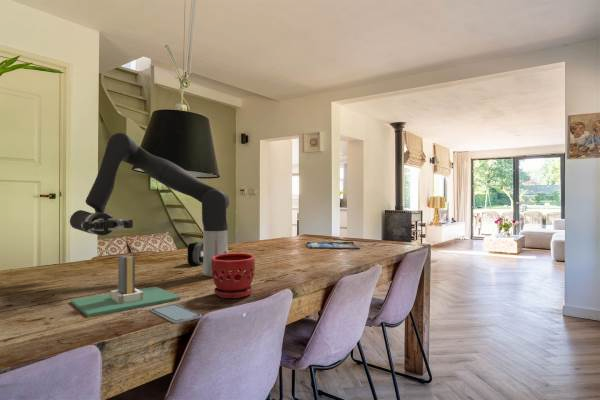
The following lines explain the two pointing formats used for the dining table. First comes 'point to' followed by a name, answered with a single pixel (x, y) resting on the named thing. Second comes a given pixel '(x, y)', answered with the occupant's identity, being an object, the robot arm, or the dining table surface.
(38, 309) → the dining table surface
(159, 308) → the smartphone
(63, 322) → the dining table surface
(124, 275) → the keyed plug
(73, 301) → the board
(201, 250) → the cpu cooler
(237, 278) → the plant pot
